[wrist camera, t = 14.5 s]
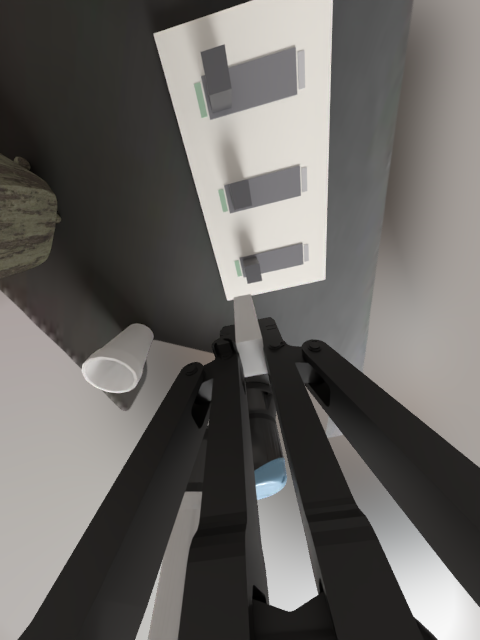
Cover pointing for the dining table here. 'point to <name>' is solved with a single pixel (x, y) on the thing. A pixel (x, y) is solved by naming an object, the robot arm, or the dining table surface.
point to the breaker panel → (259, 135)
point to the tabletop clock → (24, 217)
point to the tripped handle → (240, 194)
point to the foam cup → (119, 360)
